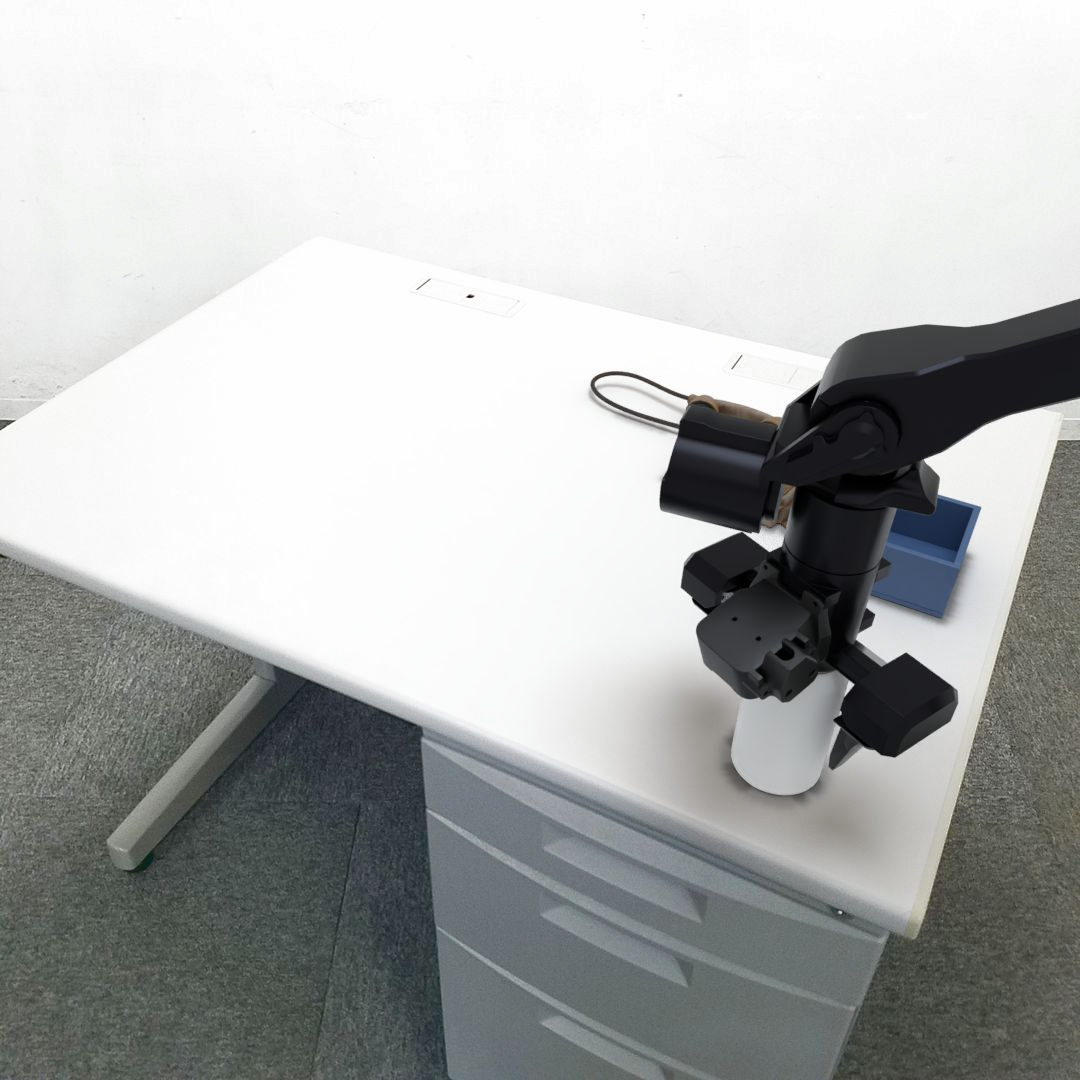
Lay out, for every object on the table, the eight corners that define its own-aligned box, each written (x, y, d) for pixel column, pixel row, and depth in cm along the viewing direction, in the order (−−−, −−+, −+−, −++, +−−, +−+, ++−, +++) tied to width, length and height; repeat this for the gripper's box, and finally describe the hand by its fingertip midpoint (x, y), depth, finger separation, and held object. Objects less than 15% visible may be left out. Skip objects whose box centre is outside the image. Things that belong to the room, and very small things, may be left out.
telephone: (619, 371, 116) (621, 339, 113) (875, 475, 99) (884, 441, 96) (537, 424, 107) (537, 390, 105) (802, 548, 90) (810, 512, 88)
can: (717, 777, 68) (741, 656, 61) (746, 716, 73) (771, 597, 66) (806, 813, 66) (843, 692, 59) (830, 748, 71) (867, 628, 63)
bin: (941, 618, 82) (959, 568, 79) (824, 579, 86) (837, 530, 83) (964, 554, 89) (981, 506, 86) (854, 521, 93) (867, 473, 90)
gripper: (629, 509, 60) (611, 685, 69) (864, 697, 48) (802, 878, 57) (758, 457, 65) (725, 627, 74) (1000, 615, 53) (923, 794, 62)
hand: (784, 721), depth 67 cm, fingers open, 9 cm apart
